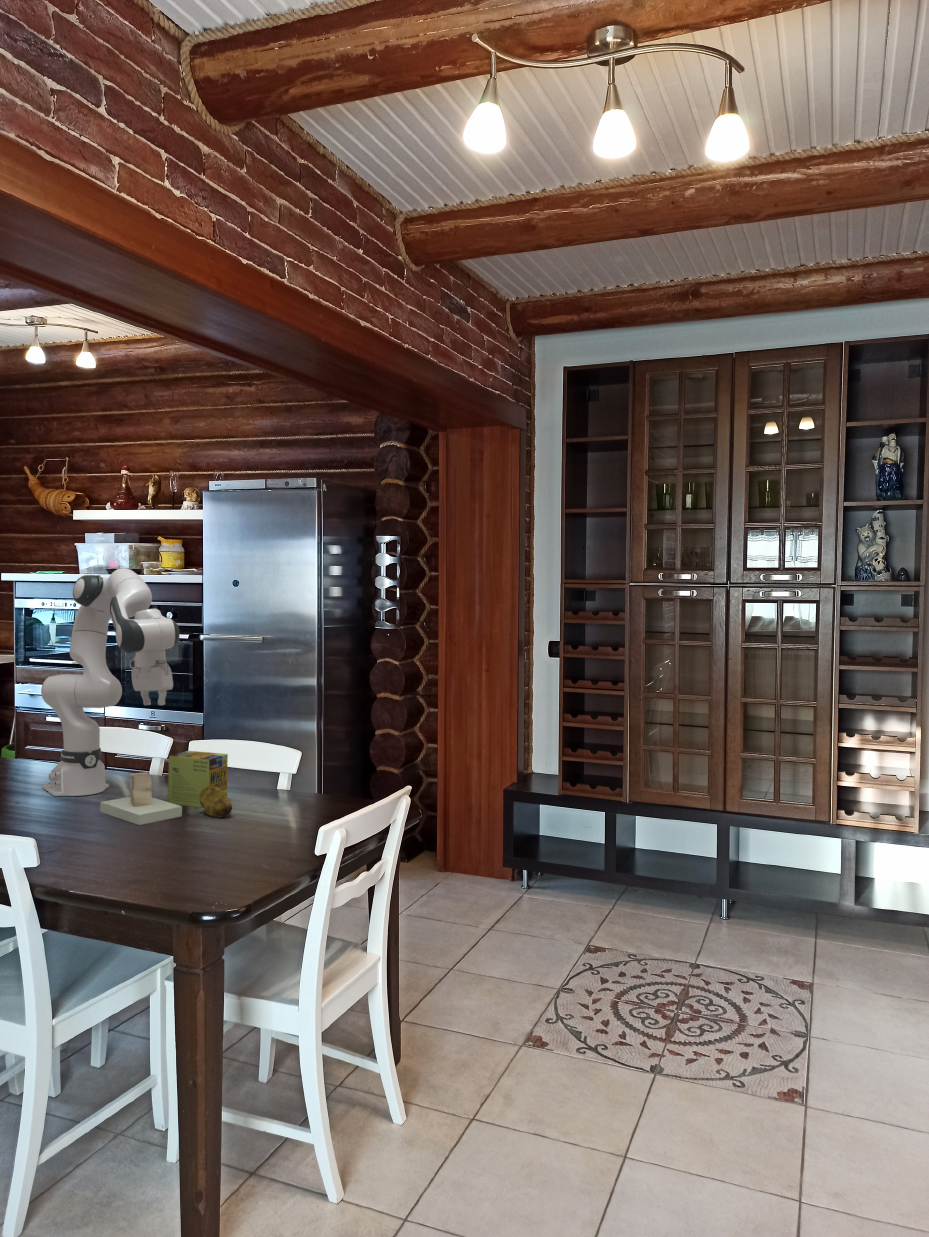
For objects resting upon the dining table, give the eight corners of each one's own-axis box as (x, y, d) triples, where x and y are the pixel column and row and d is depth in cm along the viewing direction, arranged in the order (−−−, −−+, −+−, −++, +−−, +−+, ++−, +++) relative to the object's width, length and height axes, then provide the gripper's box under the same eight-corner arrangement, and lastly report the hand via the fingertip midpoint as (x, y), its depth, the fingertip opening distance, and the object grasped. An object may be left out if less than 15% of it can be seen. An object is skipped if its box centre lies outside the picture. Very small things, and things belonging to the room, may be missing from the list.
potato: (205, 821, 268) (205, 794, 268) (197, 810, 280) (197, 785, 279) (233, 818, 272) (233, 791, 271) (224, 808, 283) (225, 783, 283)
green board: (100, 811, 276) (100, 802, 276) (142, 803, 287) (142, 794, 287) (139, 825, 262) (139, 814, 262) (181, 816, 273) (181, 806, 273)
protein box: (209, 808, 282) (209, 759, 282) (167, 804, 287) (167, 755, 287) (228, 801, 292) (228, 753, 292) (187, 797, 297) (188, 749, 297)
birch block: (130, 803, 275) (130, 774, 275) (147, 801, 278) (147, 772, 278) (134, 806, 271) (134, 777, 271) (151, 804, 274) (151, 775, 273)
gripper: (176, 659, 279) (179, 703, 279) (145, 661, 293) (149, 704, 293) (157, 660, 275) (160, 706, 274) (126, 662, 289) (130, 706, 289)
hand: (154, 705), depth 284 cm, fingers open, 8 cm apart
